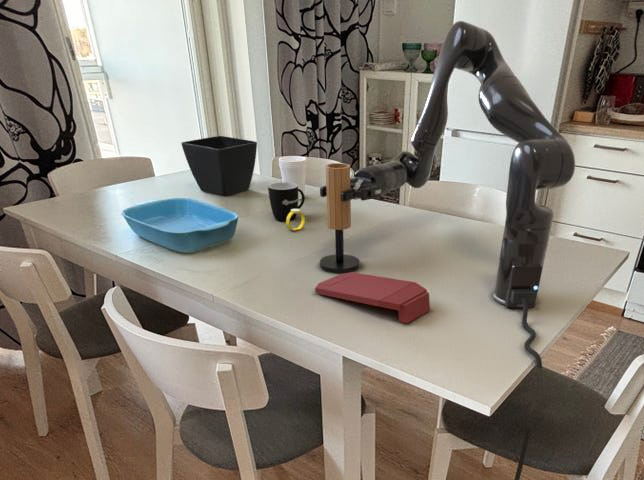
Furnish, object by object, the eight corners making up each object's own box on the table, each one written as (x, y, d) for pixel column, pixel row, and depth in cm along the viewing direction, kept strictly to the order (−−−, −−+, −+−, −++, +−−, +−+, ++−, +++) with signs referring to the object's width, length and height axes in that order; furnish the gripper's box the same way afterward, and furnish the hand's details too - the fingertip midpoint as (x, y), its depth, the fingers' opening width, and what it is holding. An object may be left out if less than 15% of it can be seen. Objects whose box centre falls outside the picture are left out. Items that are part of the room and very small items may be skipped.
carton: (314, 307, 119) (401, 327, 103) (310, 286, 116) (399, 303, 101) (349, 290, 126) (435, 306, 111) (347, 271, 124) (434, 284, 109)
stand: (360, 273, 127) (360, 224, 120) (319, 273, 126) (317, 224, 120) (359, 258, 135) (359, 211, 129) (320, 258, 135) (318, 211, 128)
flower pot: (262, 188, 193) (258, 140, 184) (225, 200, 179) (219, 148, 170) (226, 181, 201) (219, 135, 192) (188, 192, 188) (179, 142, 179)
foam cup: (278, 195, 186) (275, 157, 179) (303, 192, 189) (301, 155, 182) (286, 202, 179) (283, 162, 172) (311, 199, 182) (310, 160, 175)
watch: (290, 233, 151) (289, 212, 148) (285, 231, 153) (283, 210, 150) (307, 228, 155) (306, 208, 152) (301, 226, 156) (300, 206, 153)
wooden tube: (350, 229, 123) (350, 168, 116) (327, 229, 123) (325, 168, 115) (350, 222, 128) (350, 163, 120) (327, 222, 128) (325, 163, 120)
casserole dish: (113, 232, 150) (107, 207, 146) (181, 215, 164) (177, 192, 161) (185, 264, 130) (180, 237, 126) (256, 242, 144) (253, 216, 140)
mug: (281, 224, 158) (278, 190, 152) (265, 217, 163) (262, 185, 158) (313, 217, 164) (311, 184, 159) (296, 211, 170) (295, 179, 165)
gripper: (353, 161, 132) (307, 173, 121) (399, 169, 125) (355, 183, 114) (353, 191, 136) (309, 205, 125) (398, 201, 129) (355, 217, 118)
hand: (331, 194), depth 119 cm, fingers closed on wooden tube, 5 cm apart
